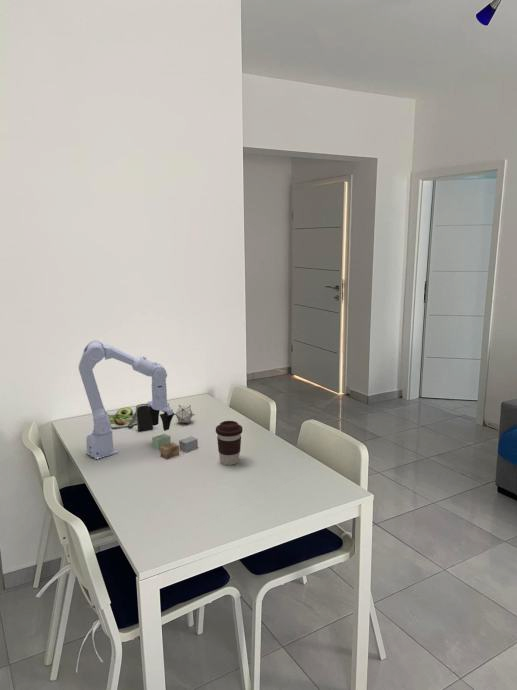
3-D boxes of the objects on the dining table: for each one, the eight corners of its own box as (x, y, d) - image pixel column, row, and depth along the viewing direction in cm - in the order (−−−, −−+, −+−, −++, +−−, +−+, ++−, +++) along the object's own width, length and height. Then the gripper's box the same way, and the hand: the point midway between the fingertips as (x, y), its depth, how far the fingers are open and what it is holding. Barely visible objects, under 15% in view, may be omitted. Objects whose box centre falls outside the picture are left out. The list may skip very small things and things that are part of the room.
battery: (151, 426, 233) (150, 402, 231) (153, 429, 230) (152, 404, 227) (135, 429, 230) (134, 404, 228) (137, 432, 227) (136, 406, 224)
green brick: (158, 449, 209) (157, 440, 208) (152, 446, 212) (152, 437, 211) (170, 445, 213) (170, 436, 213) (164, 442, 216) (164, 433, 215)
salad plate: (148, 426, 234) (148, 416, 233) (108, 433, 226) (107, 423, 225) (137, 413, 251) (136, 404, 250) (98, 419, 243) (98, 410, 242)
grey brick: (185, 452, 206) (185, 443, 206) (179, 449, 209) (179, 440, 208) (197, 448, 211) (197, 439, 210) (191, 445, 213) (191, 436, 213)
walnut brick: (166, 459, 200) (166, 449, 199) (160, 456, 203) (160, 446, 202) (179, 455, 204) (179, 445, 204) (173, 452, 207) (173, 442, 206)
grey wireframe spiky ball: (180, 430, 239) (170, 411, 240) (197, 421, 241) (186, 402, 243) (181, 427, 230) (170, 407, 232) (198, 418, 233) (188, 398, 235)
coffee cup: (239, 468, 193) (238, 429, 190) (213, 465, 195) (212, 427, 192) (245, 456, 203) (245, 419, 199) (220, 454, 204) (219, 418, 201)
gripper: (178, 396, 206) (179, 429, 209) (157, 388, 216) (159, 420, 219) (163, 401, 201) (165, 434, 204) (142, 392, 211) (144, 424, 214)
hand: (160, 427), depth 211 cm, fingers open, 7 cm apart
